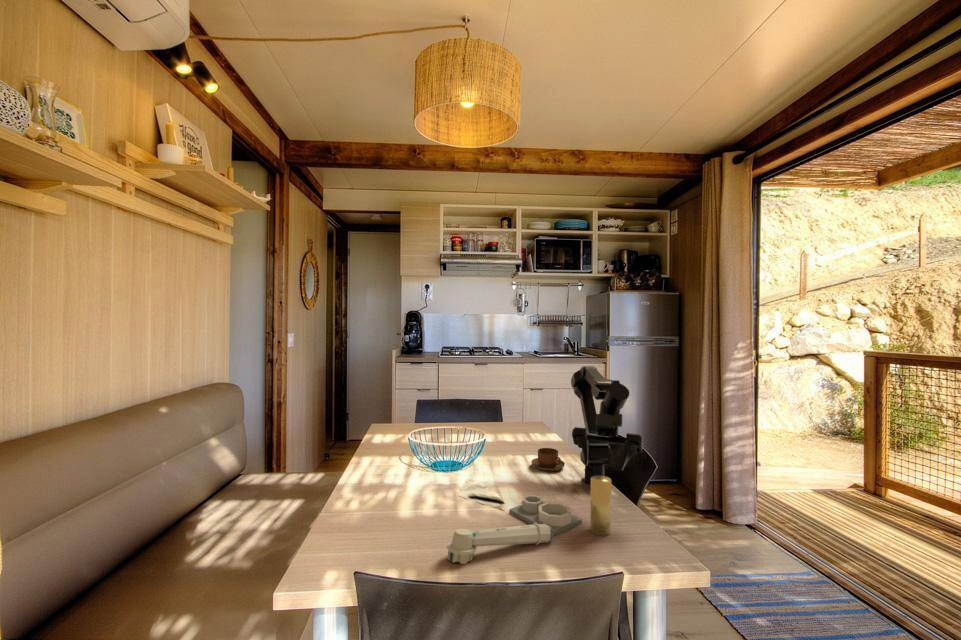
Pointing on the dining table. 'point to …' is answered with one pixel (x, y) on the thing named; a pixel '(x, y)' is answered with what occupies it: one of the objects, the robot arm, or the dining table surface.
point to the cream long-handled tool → (495, 539)
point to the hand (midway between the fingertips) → (603, 467)
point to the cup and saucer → (548, 460)
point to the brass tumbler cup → (600, 505)
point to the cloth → (479, 494)
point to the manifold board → (545, 513)
